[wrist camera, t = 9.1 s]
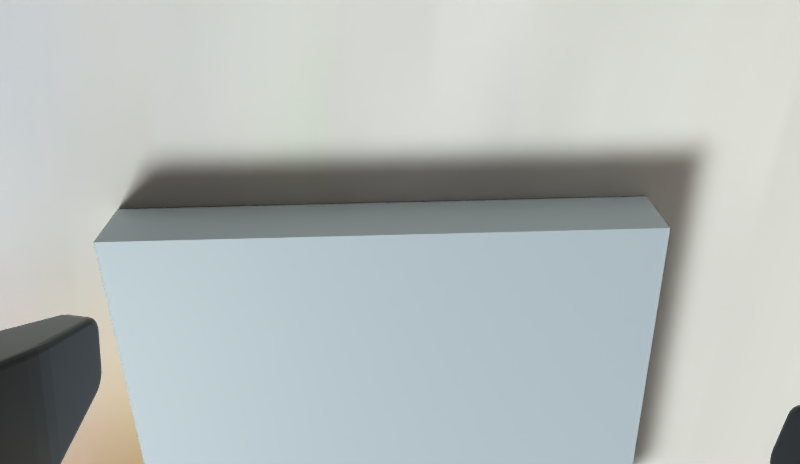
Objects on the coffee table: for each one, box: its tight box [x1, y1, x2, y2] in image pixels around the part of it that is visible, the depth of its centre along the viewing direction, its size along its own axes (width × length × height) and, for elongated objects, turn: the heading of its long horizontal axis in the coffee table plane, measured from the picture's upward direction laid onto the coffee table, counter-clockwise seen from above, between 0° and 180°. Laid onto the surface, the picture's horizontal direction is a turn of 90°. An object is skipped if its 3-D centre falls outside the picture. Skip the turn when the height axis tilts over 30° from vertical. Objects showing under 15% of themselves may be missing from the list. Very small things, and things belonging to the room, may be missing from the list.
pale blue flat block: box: [94, 196, 670, 464], centre depth 23 cm, size 15×11×2 cm
